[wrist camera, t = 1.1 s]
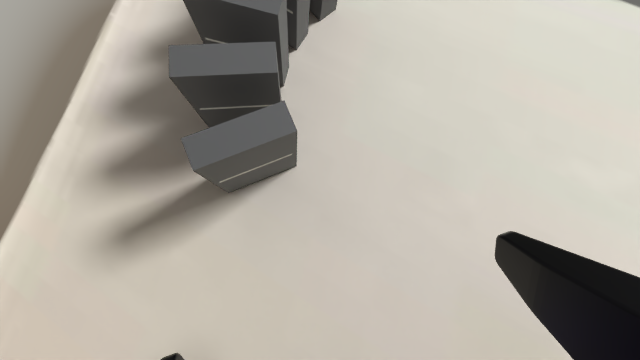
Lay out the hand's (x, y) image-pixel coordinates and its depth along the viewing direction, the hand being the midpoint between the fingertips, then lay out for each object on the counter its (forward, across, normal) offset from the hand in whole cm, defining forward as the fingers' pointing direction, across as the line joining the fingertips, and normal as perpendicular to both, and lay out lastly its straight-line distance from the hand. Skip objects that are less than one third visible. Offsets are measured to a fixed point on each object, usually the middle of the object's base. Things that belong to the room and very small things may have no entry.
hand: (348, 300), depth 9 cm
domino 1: (+20, 0, -2) cm, 20 cm away
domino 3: (+15, +2, +3) cm, 16 cm away
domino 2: (+18, +2, 0) cm, 18 cm away
